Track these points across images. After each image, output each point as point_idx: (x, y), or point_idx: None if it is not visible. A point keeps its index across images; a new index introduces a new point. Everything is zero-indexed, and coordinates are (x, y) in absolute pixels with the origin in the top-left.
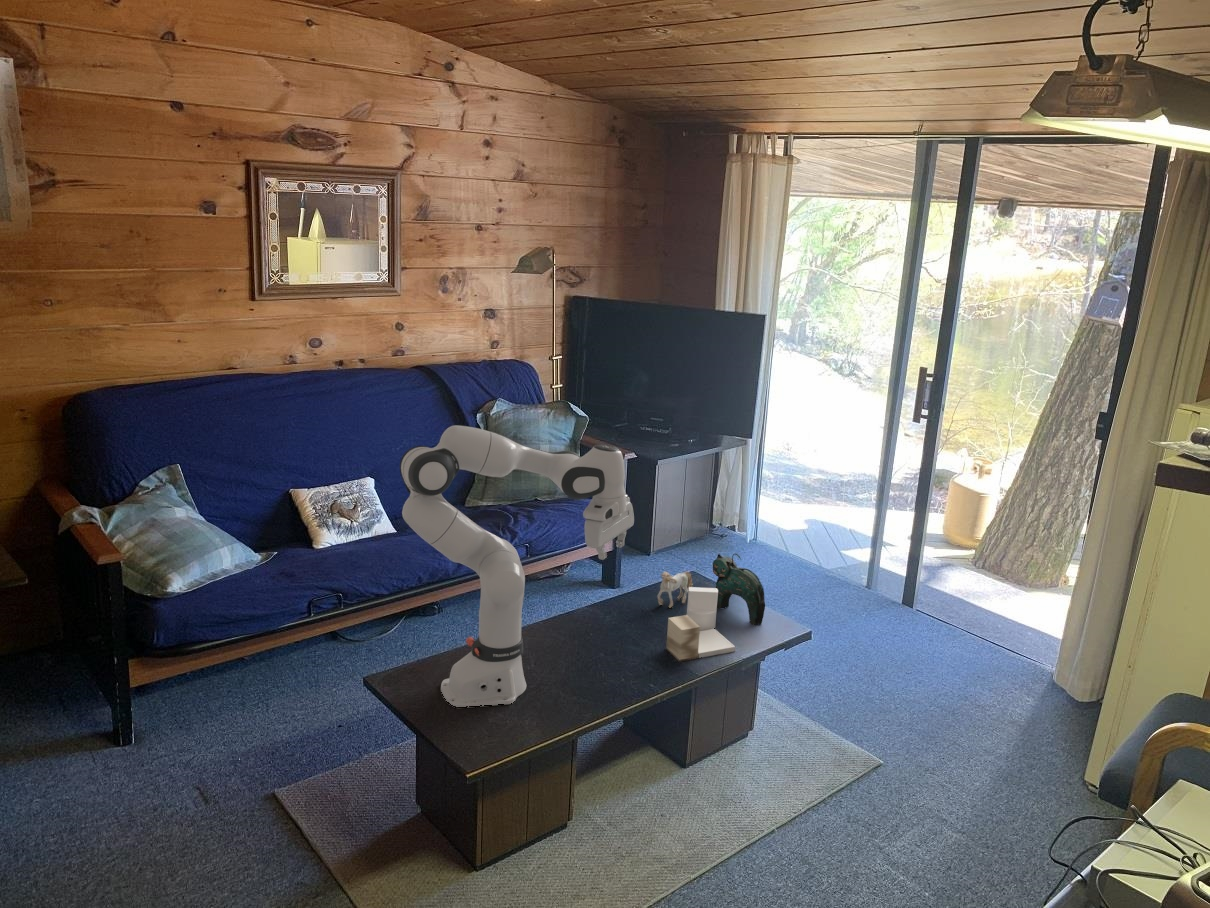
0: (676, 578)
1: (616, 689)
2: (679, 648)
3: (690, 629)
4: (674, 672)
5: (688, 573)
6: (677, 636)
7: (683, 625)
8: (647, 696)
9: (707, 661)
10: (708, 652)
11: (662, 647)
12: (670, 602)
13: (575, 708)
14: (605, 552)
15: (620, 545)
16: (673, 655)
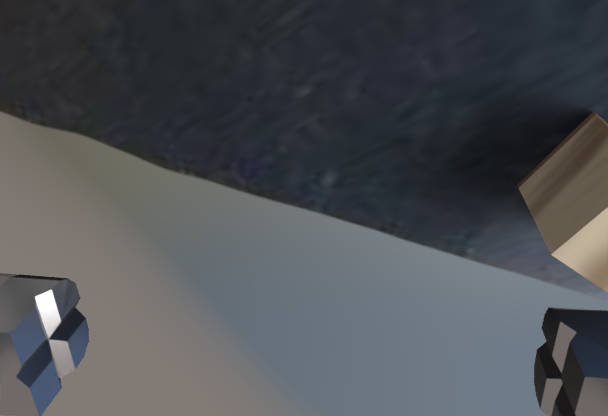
0: None
1: (237, 105)
2: (532, 206)
3: (579, 272)
4: (440, 200)
5: None
6: (560, 212)
7: (598, 246)
8: (265, 195)
9: None
10: None
11: (599, 94)
12: None
13: (62, 59)
14: (10, 412)
15: (541, 389)
16: (549, 155)
